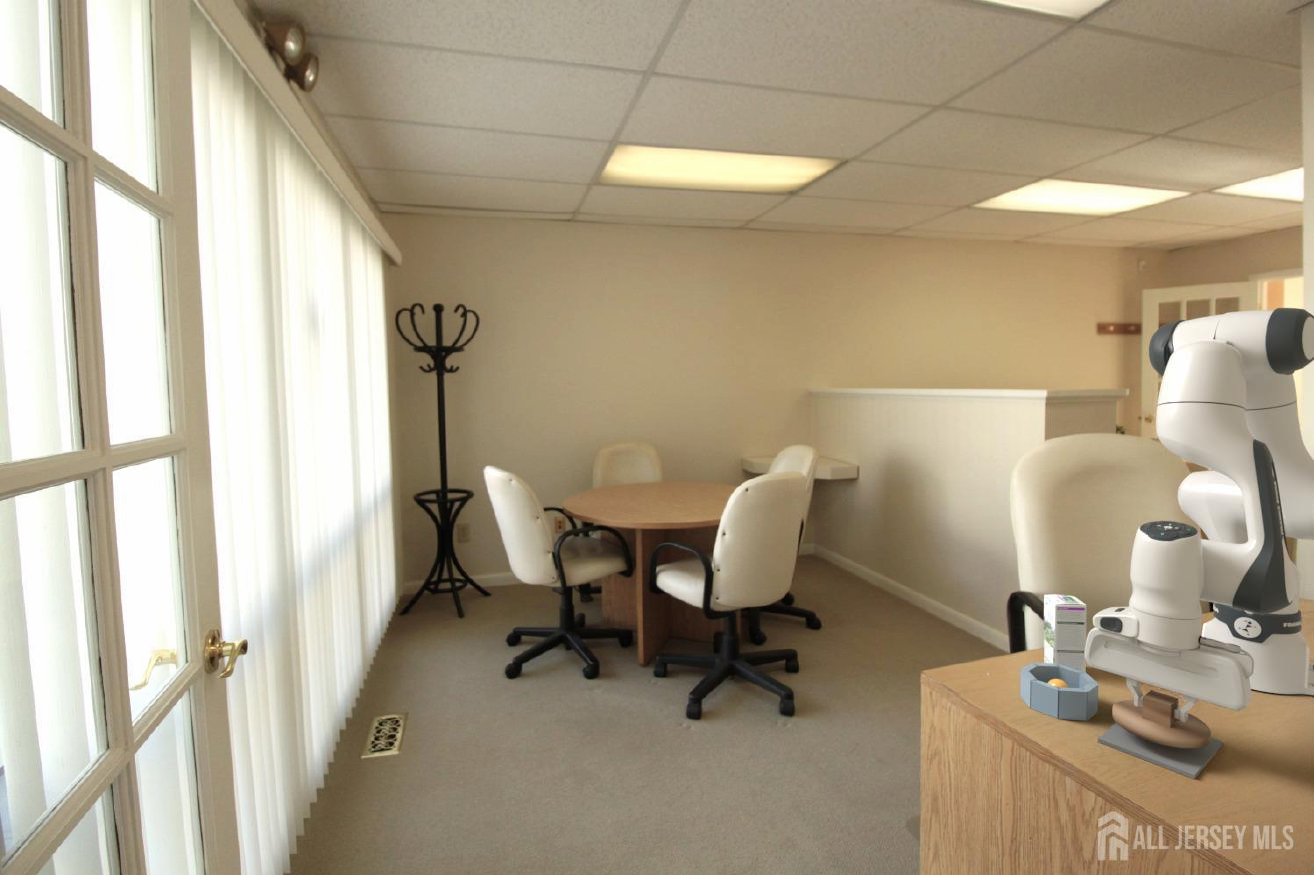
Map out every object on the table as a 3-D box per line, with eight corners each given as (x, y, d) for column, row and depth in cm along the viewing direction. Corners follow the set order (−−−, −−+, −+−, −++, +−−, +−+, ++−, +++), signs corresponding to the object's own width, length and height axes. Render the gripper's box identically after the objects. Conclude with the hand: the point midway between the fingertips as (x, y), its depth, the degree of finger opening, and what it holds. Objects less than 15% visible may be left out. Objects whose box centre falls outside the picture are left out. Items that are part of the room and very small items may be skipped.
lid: (1128, 699, 107) (1129, 673, 106) (1220, 730, 97) (1222, 700, 97) (1099, 722, 100) (1100, 694, 99) (1196, 757, 90) (1197, 726, 90)
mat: (1131, 713, 108) (1131, 710, 107) (1222, 744, 98) (1223, 741, 98) (1097, 741, 99) (1097, 738, 99) (1194, 779, 90) (1194, 775, 90)
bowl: (1039, 683, 119) (1039, 658, 118) (1105, 706, 110) (1106, 678, 110) (1011, 701, 113) (1011, 674, 112) (1079, 726, 104) (1080, 697, 103)
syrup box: (1087, 677, 121) (1089, 604, 120) (1053, 675, 122) (1055, 603, 121) (1073, 664, 126) (1075, 594, 125) (1041, 662, 127) (1043, 593, 126)
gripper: (1260, 643, 91) (1255, 735, 92) (1097, 605, 107) (1094, 683, 108) (1248, 655, 87) (1243, 750, 88) (1081, 613, 104) (1079, 694, 105)
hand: (1160, 713), depth 98 cm, fingers closed on lid, 3 cm apart
